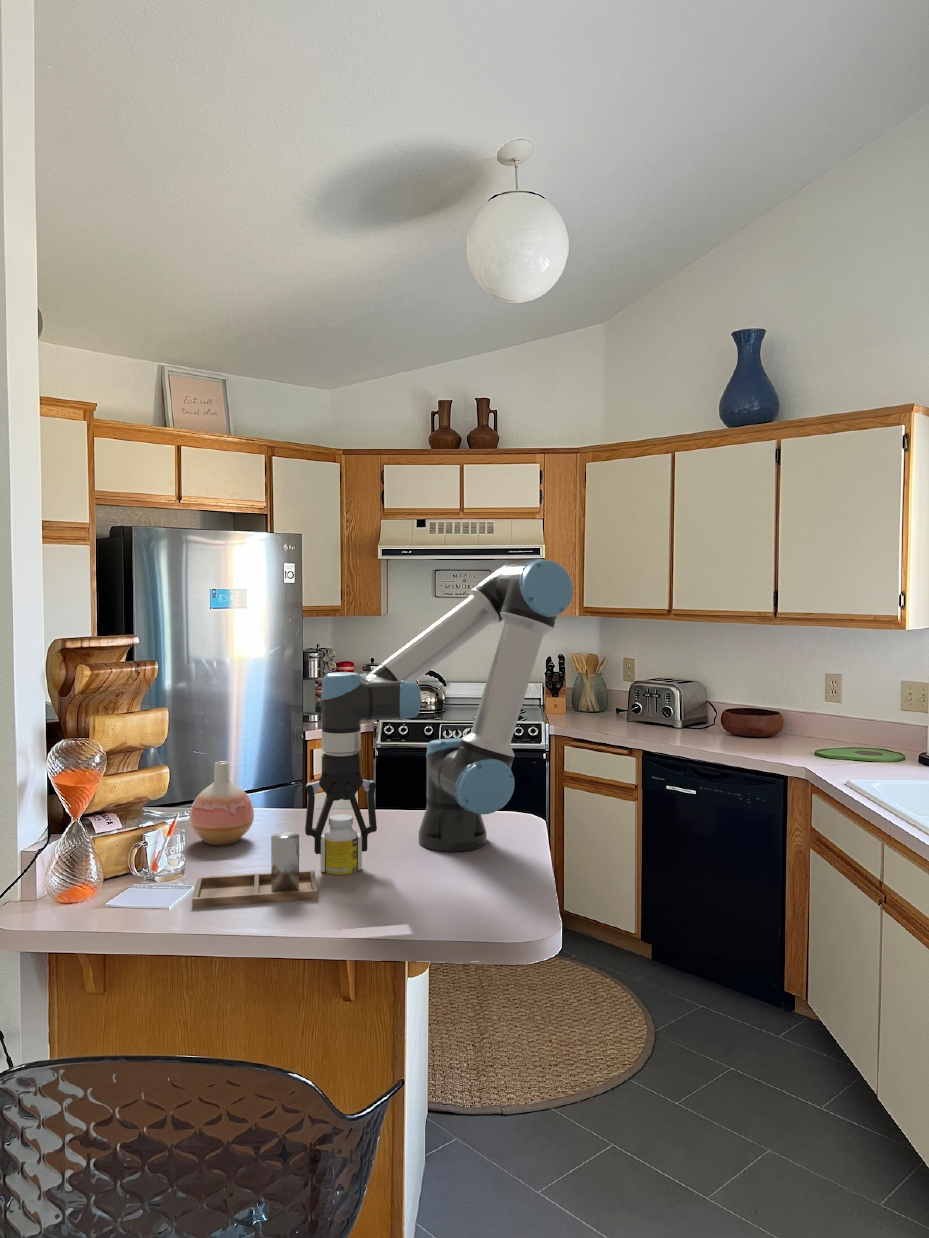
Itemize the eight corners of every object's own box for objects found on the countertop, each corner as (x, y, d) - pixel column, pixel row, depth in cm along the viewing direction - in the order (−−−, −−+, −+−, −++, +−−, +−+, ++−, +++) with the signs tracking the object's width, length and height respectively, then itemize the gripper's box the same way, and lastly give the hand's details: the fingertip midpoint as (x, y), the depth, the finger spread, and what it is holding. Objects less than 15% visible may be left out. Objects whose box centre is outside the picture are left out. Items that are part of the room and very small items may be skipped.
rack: (314, 883, 169) (314, 869, 169) (317, 905, 158) (317, 890, 158) (197, 891, 165) (197, 877, 165) (192, 914, 153) (192, 899, 153)
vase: (220, 854, 187) (220, 771, 186) (176, 844, 194) (175, 764, 193) (266, 838, 198) (266, 760, 198) (223, 829, 206) (223, 753, 205)
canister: (298, 884, 165) (298, 831, 165) (299, 893, 160) (299, 839, 160) (271, 886, 164) (271, 832, 164) (271, 895, 159) (271, 840, 159)
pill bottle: (351, 882, 170) (351, 822, 170) (319, 880, 171) (319, 820, 171) (361, 871, 176) (361, 813, 176) (331, 869, 178) (331, 812, 177)
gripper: (388, 746, 179) (387, 859, 180) (290, 749, 174) (290, 865, 176) (393, 753, 171) (392, 871, 172) (290, 757, 167) (291, 877, 168)
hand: (340, 868), depth 174 cm, fingers closed on pill bottle, 6 cm apart
